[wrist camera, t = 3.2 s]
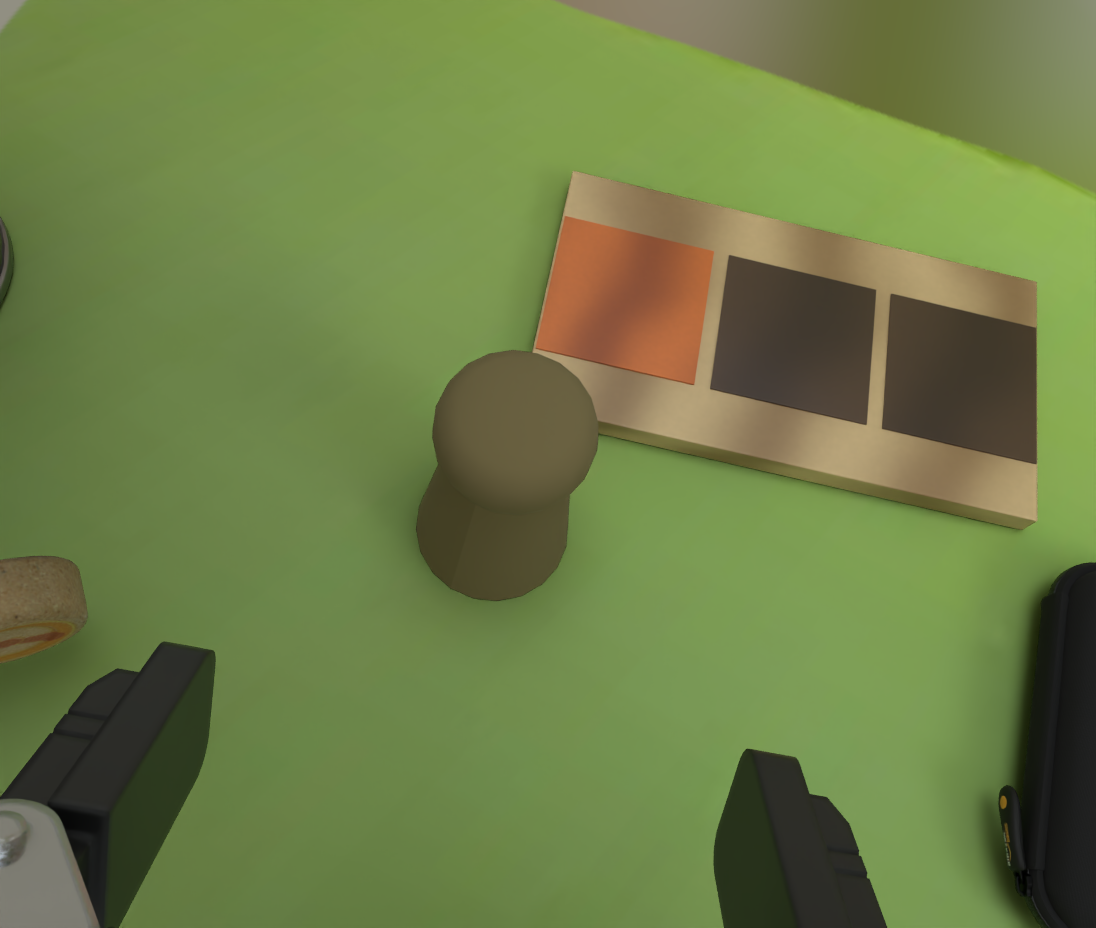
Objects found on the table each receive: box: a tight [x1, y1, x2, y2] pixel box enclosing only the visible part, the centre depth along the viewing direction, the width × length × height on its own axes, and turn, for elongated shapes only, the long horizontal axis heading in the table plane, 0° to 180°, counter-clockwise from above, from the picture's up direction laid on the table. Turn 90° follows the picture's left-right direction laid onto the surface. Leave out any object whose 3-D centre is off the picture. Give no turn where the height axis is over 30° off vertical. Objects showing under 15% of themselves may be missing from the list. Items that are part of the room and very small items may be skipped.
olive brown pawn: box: [416, 350, 599, 601], centre depth 36 cm, size 6×6×11 cm
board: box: [532, 171, 1037, 530], centre depth 45 cm, size 22×12×1 cm, turn 80°
